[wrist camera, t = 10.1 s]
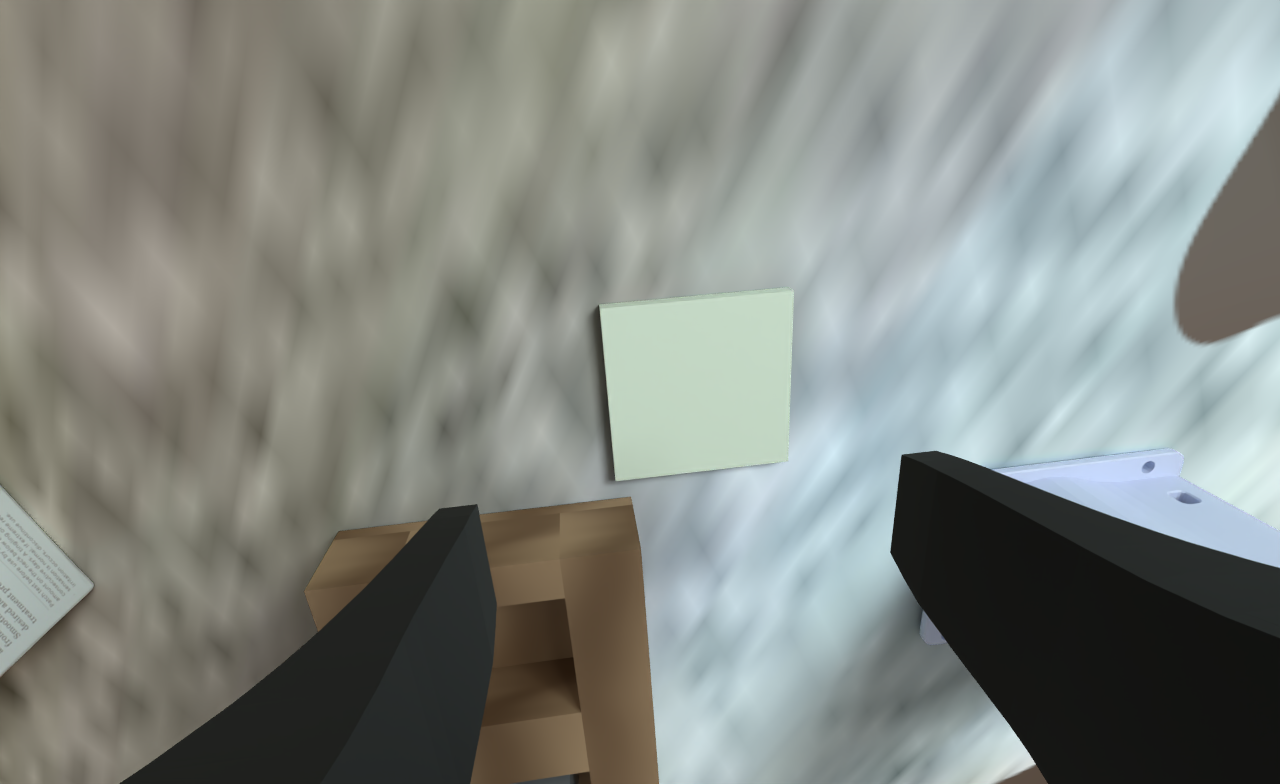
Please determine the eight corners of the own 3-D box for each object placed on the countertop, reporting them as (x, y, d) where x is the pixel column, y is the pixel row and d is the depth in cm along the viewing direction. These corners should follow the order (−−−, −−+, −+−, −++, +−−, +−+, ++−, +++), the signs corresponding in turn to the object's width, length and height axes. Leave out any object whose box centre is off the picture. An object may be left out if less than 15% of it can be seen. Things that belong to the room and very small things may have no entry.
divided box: (630, 496, 21) (640, 548, 19) (655, 797, 28) (665, 869, 25) (332, 532, 21) (296, 592, 18) (426, 833, 27) (410, 913, 24)
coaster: (788, 287, 19) (793, 290, 19) (783, 454, 22) (787, 461, 21) (599, 304, 19) (600, 308, 18) (614, 474, 21) (615, 481, 21)
